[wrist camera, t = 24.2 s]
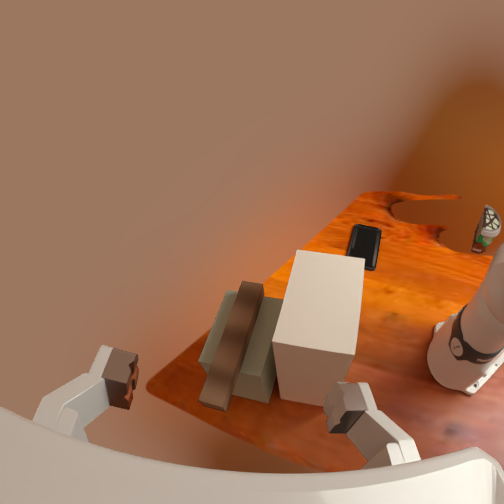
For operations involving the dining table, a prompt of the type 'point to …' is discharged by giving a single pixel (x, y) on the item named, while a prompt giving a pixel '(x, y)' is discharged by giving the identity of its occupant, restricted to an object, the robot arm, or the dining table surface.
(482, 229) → the food container
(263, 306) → the sage base
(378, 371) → the dining table surface
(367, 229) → the phone
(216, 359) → the walnut bar
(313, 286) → the white pedestal
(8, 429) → the robot arm
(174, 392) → the dining table surface
